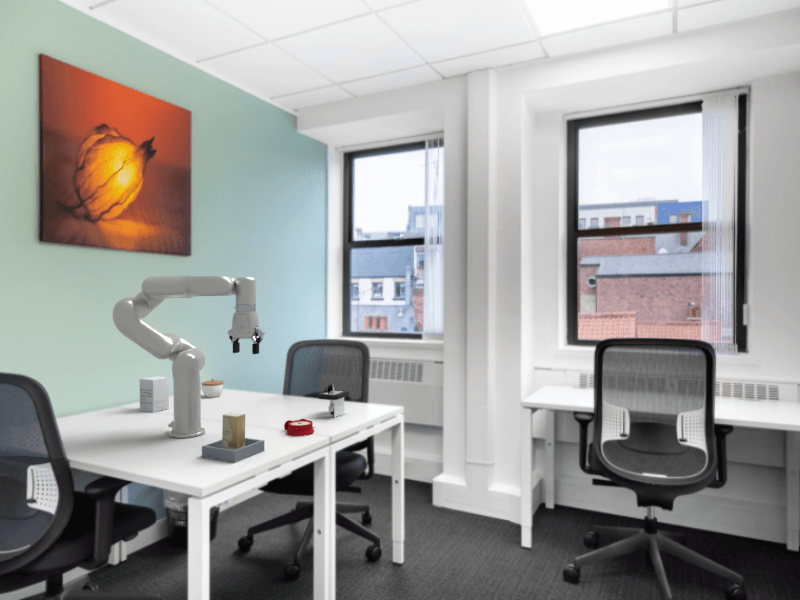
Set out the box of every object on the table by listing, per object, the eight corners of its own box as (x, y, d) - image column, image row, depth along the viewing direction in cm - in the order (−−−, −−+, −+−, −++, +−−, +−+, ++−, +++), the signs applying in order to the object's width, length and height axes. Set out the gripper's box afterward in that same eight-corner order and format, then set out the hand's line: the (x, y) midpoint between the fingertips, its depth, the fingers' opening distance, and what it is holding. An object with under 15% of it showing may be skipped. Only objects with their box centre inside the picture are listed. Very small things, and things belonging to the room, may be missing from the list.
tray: (201, 456, 171) (201, 446, 171) (232, 445, 184) (232, 435, 184) (234, 462, 165) (234, 451, 165) (264, 450, 178) (264, 440, 178)
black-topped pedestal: (322, 407, 250) (322, 379, 250) (372, 411, 240) (372, 382, 240) (288, 419, 224) (288, 388, 224) (343, 425, 214) (343, 392, 214)
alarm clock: (292, 429, 194) (280, 412, 206) (291, 444, 195) (279, 427, 208) (319, 425, 199) (306, 409, 212) (317, 440, 200) (305, 423, 213)
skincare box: (221, 451, 174) (221, 414, 174) (230, 448, 178) (230, 411, 178) (237, 453, 171) (237, 416, 171) (245, 450, 175) (245, 413, 175)
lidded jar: (227, 395, 280) (227, 377, 280) (217, 398, 270) (217, 380, 270) (208, 394, 282) (208, 377, 282) (197, 398, 271) (197, 380, 271)
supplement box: (155, 407, 249) (155, 375, 249) (169, 409, 245) (169, 377, 245) (138, 411, 241) (138, 378, 241) (152, 413, 237) (152, 379, 237)
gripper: (221, 309, 203) (221, 353, 203) (256, 309, 196) (257, 355, 196) (235, 308, 210) (235, 351, 210) (269, 308, 203) (270, 353, 203)
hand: (245, 353), depth 203 cm, fingers open, 9 cm apart
